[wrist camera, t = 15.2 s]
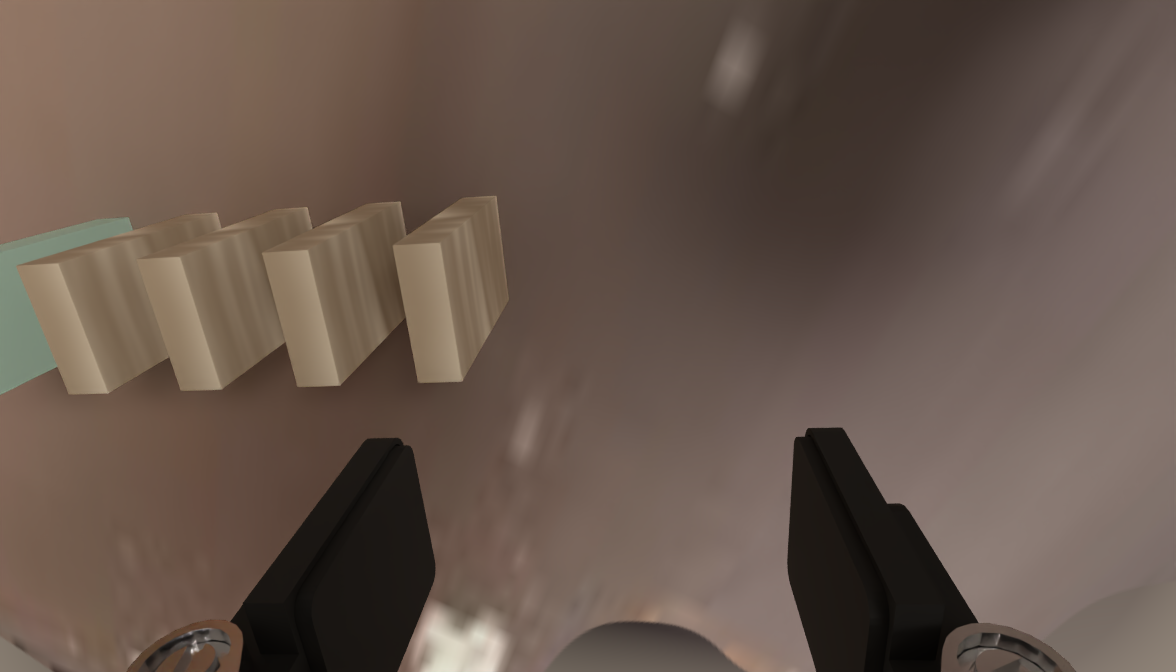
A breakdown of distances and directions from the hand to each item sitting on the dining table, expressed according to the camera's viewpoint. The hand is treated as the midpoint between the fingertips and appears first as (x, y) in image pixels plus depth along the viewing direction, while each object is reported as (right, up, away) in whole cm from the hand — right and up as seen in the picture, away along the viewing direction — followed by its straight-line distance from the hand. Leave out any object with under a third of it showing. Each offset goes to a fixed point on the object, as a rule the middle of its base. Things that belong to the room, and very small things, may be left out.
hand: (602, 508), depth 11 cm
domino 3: (-14, +7, +20) cm, 25 cm away
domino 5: (-5, +7, +19) cm, 21 cm away
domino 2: (-18, +7, +20) cm, 28 cm away
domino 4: (-10, +7, +19) cm, 23 cm away
